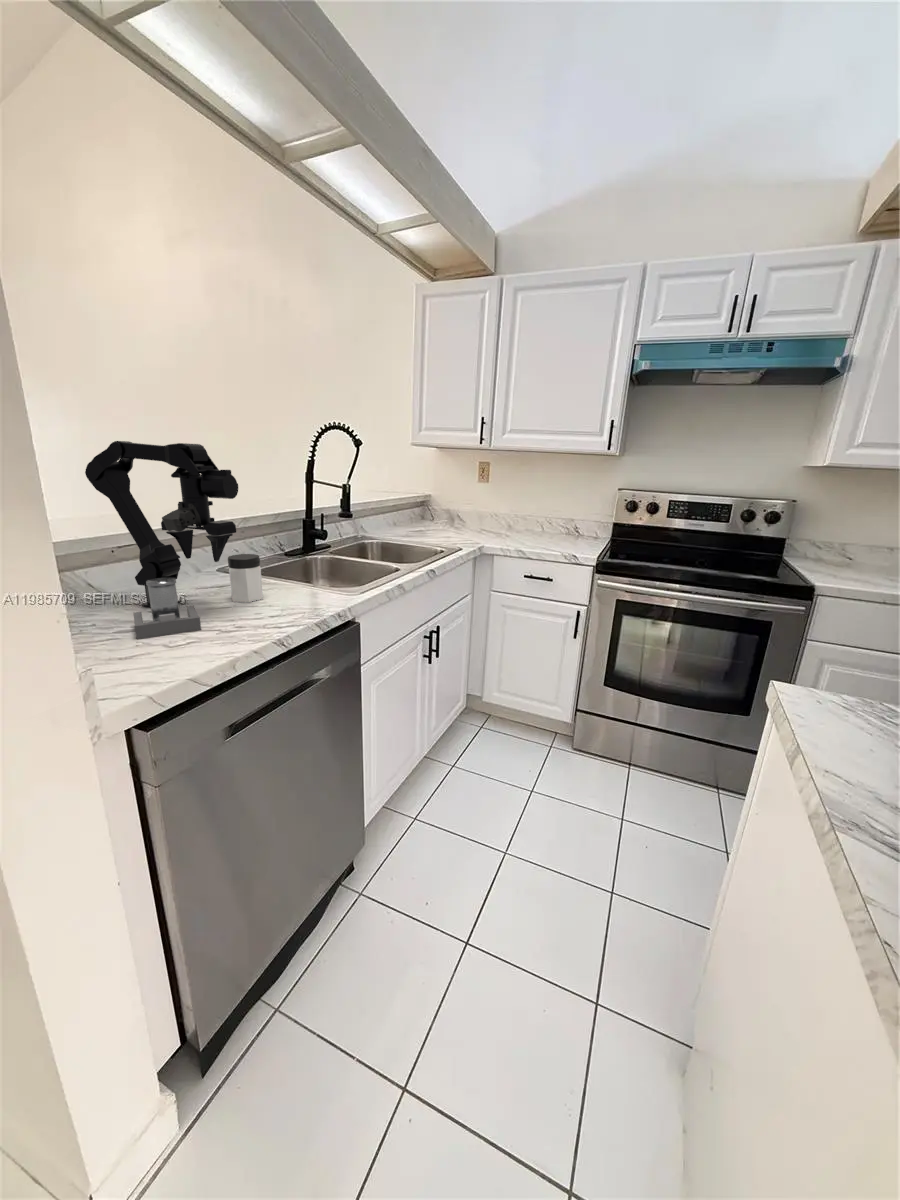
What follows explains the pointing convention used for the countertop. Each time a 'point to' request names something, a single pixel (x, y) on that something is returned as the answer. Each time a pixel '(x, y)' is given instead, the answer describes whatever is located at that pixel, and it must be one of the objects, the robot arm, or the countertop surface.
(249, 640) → the countertop surface
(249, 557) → the jar
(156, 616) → the dark grey flanged cylinder
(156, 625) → the u-shaped bracket
